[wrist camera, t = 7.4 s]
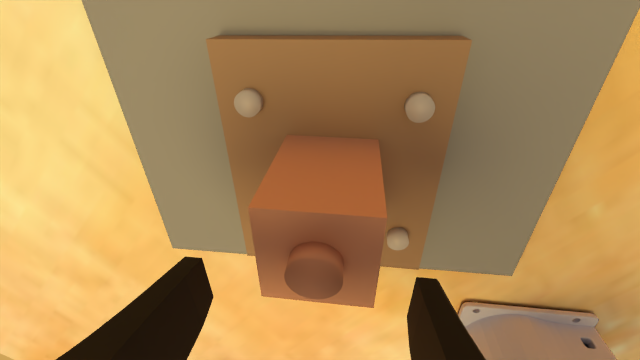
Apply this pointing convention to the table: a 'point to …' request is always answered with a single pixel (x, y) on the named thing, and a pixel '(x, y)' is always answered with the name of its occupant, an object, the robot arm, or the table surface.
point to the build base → (485, 133)
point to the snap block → (321, 221)
